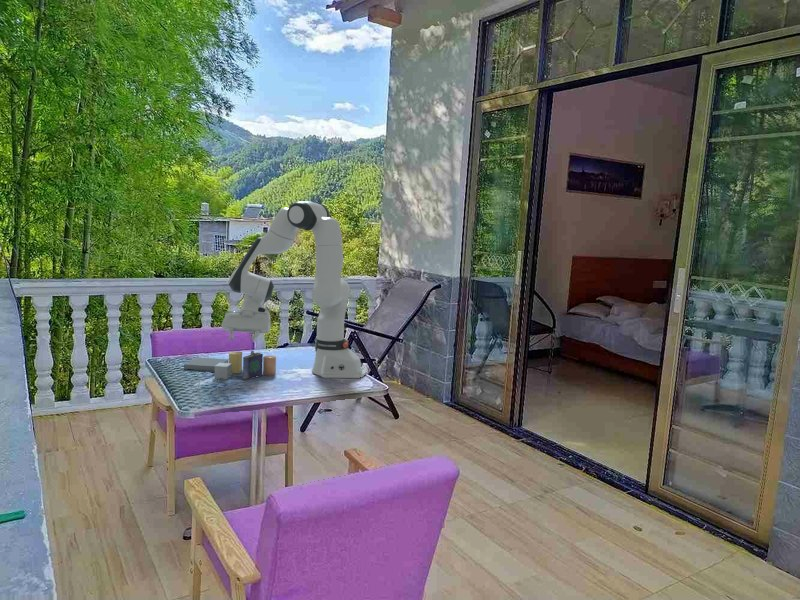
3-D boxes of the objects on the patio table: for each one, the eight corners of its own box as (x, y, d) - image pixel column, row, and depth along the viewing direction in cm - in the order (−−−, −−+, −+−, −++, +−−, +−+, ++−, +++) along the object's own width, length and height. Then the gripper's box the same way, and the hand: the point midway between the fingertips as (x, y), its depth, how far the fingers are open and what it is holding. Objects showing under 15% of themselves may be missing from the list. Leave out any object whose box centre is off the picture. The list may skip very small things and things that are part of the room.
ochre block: (241, 370, 227) (242, 351, 226) (238, 373, 223) (238, 354, 222) (232, 370, 227) (232, 351, 226) (228, 372, 223) (228, 353, 222)
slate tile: (228, 363, 236) (228, 359, 236) (217, 371, 224) (217, 366, 224) (196, 361, 237) (196, 357, 236) (183, 369, 225) (183, 364, 224)
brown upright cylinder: (277, 372, 226) (277, 355, 225) (273, 375, 221) (274, 358, 220) (265, 371, 227) (265, 355, 226) (261, 375, 222) (261, 358, 221)
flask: (245, 380, 214) (245, 353, 212) (240, 378, 215) (240, 352, 214) (263, 375, 221) (264, 349, 220) (258, 374, 223) (259, 348, 222)
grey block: (231, 375, 219) (231, 363, 219) (227, 379, 214) (227, 366, 214) (219, 374, 220) (219, 362, 219) (214, 378, 215) (214, 365, 214)
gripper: (224, 306, 237) (215, 333, 229) (271, 309, 236) (264, 336, 228) (228, 315, 242) (219, 341, 234) (274, 318, 241) (267, 345, 233)
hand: (242, 339), depth 231 cm, fingers open, 8 cm apart
